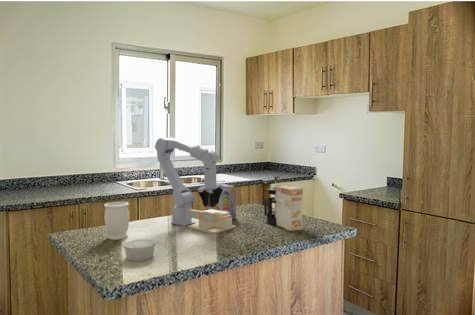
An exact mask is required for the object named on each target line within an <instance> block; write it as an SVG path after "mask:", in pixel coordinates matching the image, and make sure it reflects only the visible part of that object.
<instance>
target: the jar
mask: <svg viewBox="0 0 475 315" xmlns="http://www.w3.org/2000/svg"><path fill="white" fill-rule="evenodd" d="M129 205H130V204H129V202H128V201H111V202H106V203H104V206H103V207H104V208H105V209H104V216H103V217H104V224H105V229H106V232H107V234H108V235H107V239H108V240H113V241H114V240H115V241H118V240H123V239H126V238H127V237H128V233H127V232H128V231H129V225H130V224H129V223H130V211H129Z"/></svg>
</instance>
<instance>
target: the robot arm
mask: <svg viewBox="0 0 475 315" xmlns="http://www.w3.org/2000/svg"><path fill="white" fill-rule="evenodd" d="M154 148H155V150H156V156H157V160H158V163H159V164H160V167H161V168H162V170H163V172H164V174H165V176H166V178H167V180H168V182H169V184H170V186H171V188H172V190H173V191H172V193H171V194H172V197H173V202H174V206H173V208H172V210H171V211H172V221H171V224H174V225H178V226H184V227H185V226H186V227H187V226H189V225H193V224H196V221H193V220H192V219H193V218H191V217H190V210H192V209H193V208H192V206H193V202H194V200H195V199H194V198H195V195H194V193H193V192H192V191H190V189H189V188H188V187H187V186H185V185H184V183H183V181H182V179H181V177H180V176H179V173H178V172H177V170H176V168H175V166H174V164H173V161H171V158H170V157H171V154H172V153H173V152H174V150H175V149H178V150H180V151H182V152H185V153H188V154H189V156H190V157H191V158H193V159H197V160H199V161H200V162H202V163H203V173H204V176H203V177H204V180H203V181H204V186H200V187H198V192H197V193H198V195H199V197H200V199H201V202H202V205H203V207H207V208H208V197H209V192H208V190H212V192H213V196H214V204H218V203H219V199H220V195H221V193H222V191H223V189H221V188H222V184H223V183H220V184H216V183H217V161H218V159H219V156H218V154H217V153H216V152H215V151H214V150H211V151H209V149H207V148H206V149H205V148H203V147H201V146H200V145H194V146H191V145H189V144H187V143H185V142H183V141H181V140H179V139H177V138H173V137H168V138H165V137H163V138H162V137H160V138H158V139H157V140H156V142H155V145H154Z"/></svg>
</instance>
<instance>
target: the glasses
mask: <svg viewBox="0 0 475 315" xmlns="http://www.w3.org/2000/svg"><path fill="white" fill-rule="evenodd" d="M204 211H205V210H198V209H193V208H192V210H190V217H191V218H192V219H197V220H199V219H201V220H206V221H211V222H218V221H221V220H224V219H228V218H231V217H232V215H228V216H225V217H221V218H218V214H215V213H210V212H204Z"/></svg>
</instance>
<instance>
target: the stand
mask: <svg viewBox="0 0 475 315" xmlns="http://www.w3.org/2000/svg"><path fill="white" fill-rule="evenodd" d="M203 211H204V212H210V213H215V214H218V218H221V217H225V216H228V215H230V212H225V211H219V210H214V209H210V210H209V209H206V210H203ZM186 228H187V229H191V230H196V231H200V232H204V233H209V234H213V235H216V234H221V233H222V232H225V231H229V230H232V229H235V228H237V225H236V224H235V225H234V224H233V219H232V218H228V219H224V220H221V221H218V222H211V221H206V220H201V219H198V222H197V223H193V224H189V225H186Z"/></svg>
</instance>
